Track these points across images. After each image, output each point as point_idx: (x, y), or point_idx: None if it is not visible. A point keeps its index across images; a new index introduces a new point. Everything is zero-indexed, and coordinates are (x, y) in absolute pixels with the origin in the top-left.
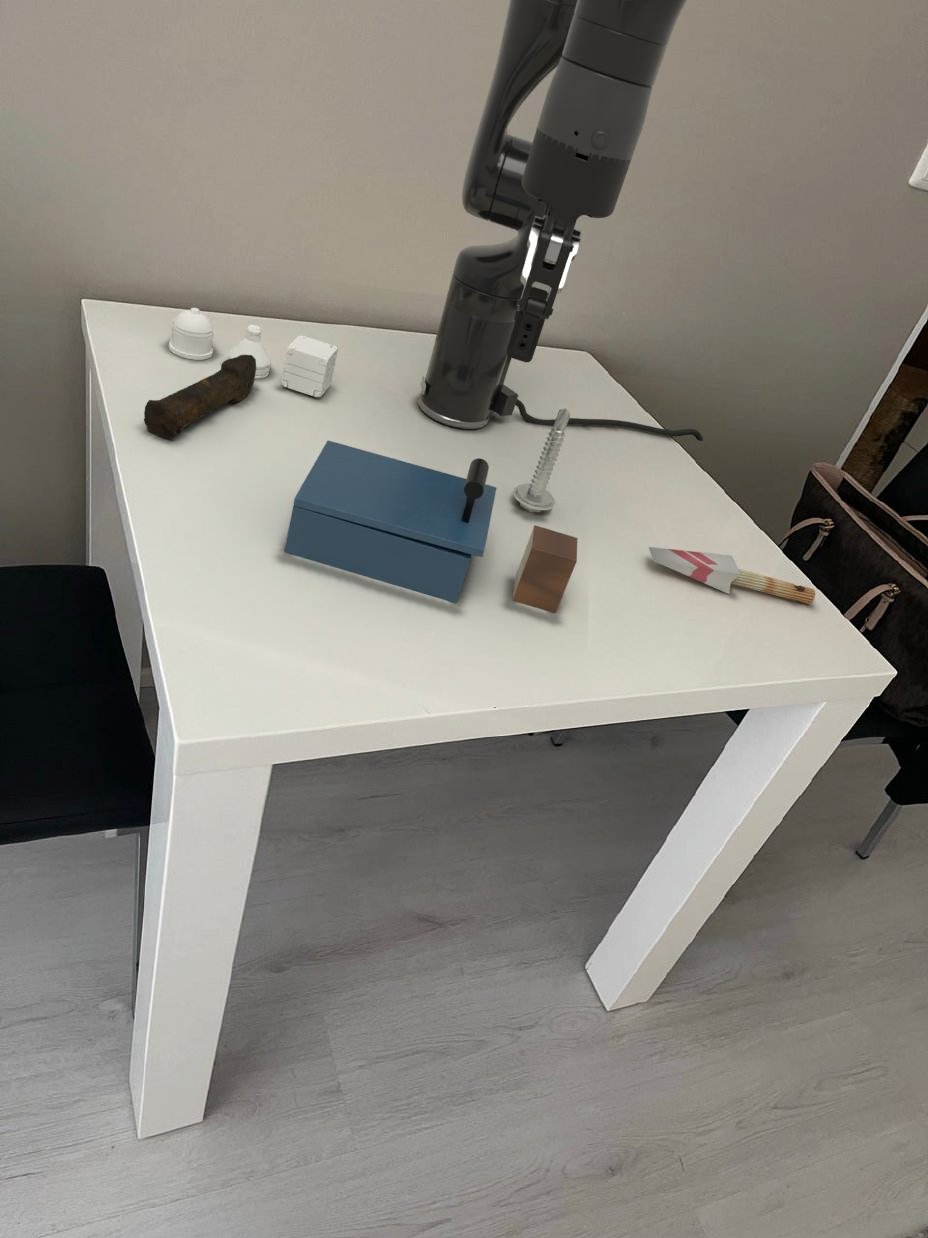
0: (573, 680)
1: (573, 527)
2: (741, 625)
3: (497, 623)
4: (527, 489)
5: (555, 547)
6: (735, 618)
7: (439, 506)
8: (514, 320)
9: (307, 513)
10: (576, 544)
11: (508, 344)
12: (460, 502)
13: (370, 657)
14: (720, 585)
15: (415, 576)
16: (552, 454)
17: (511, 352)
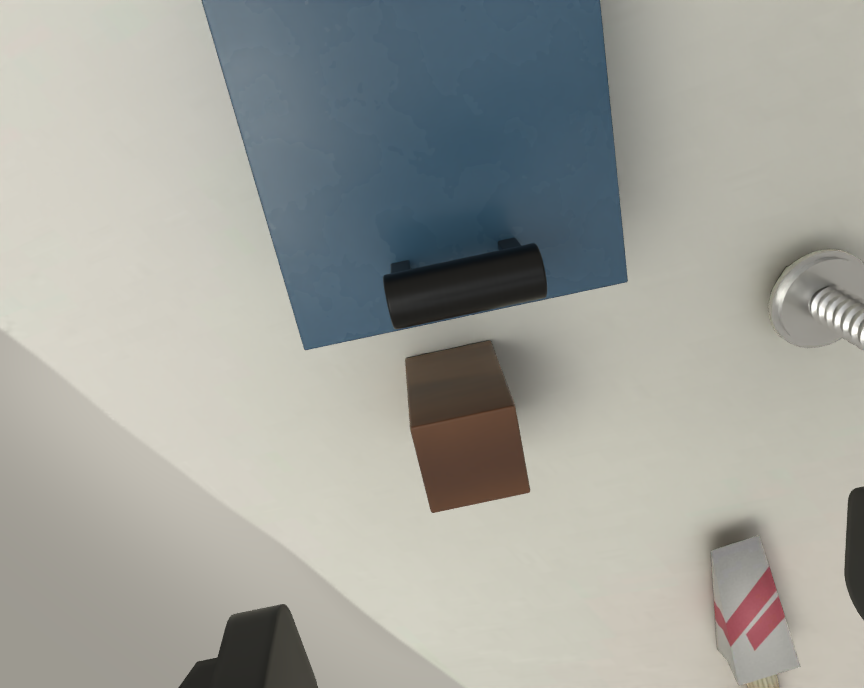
0: (277, 499)
1: (788, 382)
2: (630, 674)
3: (336, 354)
4: (836, 281)
5: (450, 467)
6: (645, 664)
7: (421, 191)
8: (861, 488)
9: None
10: (499, 497)
11: (220, 656)
12: (481, 230)
13: (50, 193)
14: (720, 642)
15: None
16: None
17: (197, 664)
